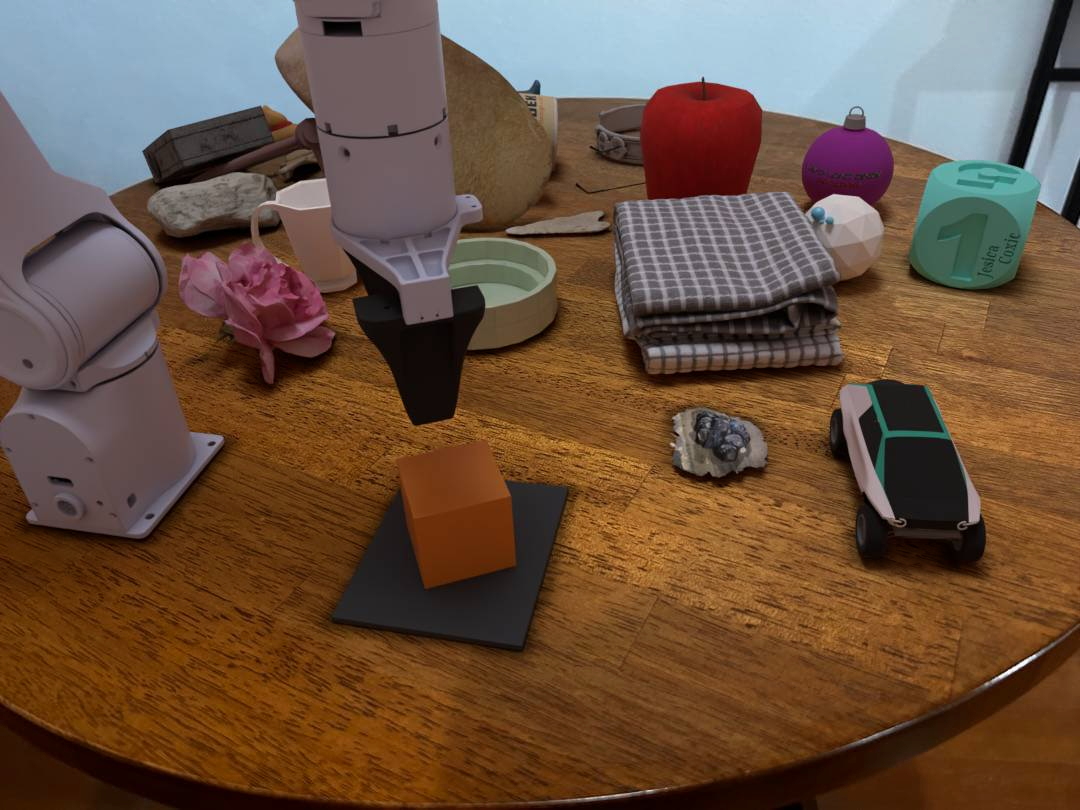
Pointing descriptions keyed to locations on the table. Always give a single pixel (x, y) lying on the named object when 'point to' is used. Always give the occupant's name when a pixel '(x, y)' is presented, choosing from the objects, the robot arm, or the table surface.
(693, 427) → the blueberries
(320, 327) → the flower
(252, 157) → the toilet paper hanger
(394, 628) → the mat
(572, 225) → the stone tool
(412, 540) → the block
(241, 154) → the grey rectangular box
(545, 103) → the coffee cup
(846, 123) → the christmas ornament
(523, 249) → the bowl
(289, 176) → the jawbone
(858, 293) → the table surface
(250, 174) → the decorative stone
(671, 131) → the apple
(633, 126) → the bracelet
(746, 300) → the towel
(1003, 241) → the decorative dice
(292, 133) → the toy
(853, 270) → the ornament
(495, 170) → the stone
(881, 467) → the toy car
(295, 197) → the cup
